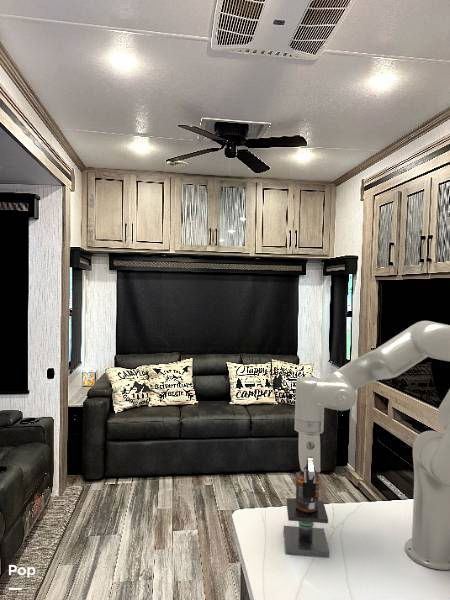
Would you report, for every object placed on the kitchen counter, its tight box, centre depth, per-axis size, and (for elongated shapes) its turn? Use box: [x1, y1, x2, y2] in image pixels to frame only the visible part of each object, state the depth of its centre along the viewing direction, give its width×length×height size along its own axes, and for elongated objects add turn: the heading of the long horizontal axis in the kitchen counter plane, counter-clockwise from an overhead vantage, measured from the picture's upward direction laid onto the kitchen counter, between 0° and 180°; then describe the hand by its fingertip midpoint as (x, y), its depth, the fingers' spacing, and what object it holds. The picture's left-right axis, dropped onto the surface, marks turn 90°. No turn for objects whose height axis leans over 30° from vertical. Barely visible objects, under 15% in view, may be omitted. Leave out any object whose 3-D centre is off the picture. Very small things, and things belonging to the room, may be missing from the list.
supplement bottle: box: [295, 468, 320, 513], centre depth 117 cm, size 6×6×11 cm
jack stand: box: [283, 498, 331, 559], centre depth 117 cm, size 11×11×10 cm
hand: (307, 488), depth 117 cm, fingers open, 9 cm apart
